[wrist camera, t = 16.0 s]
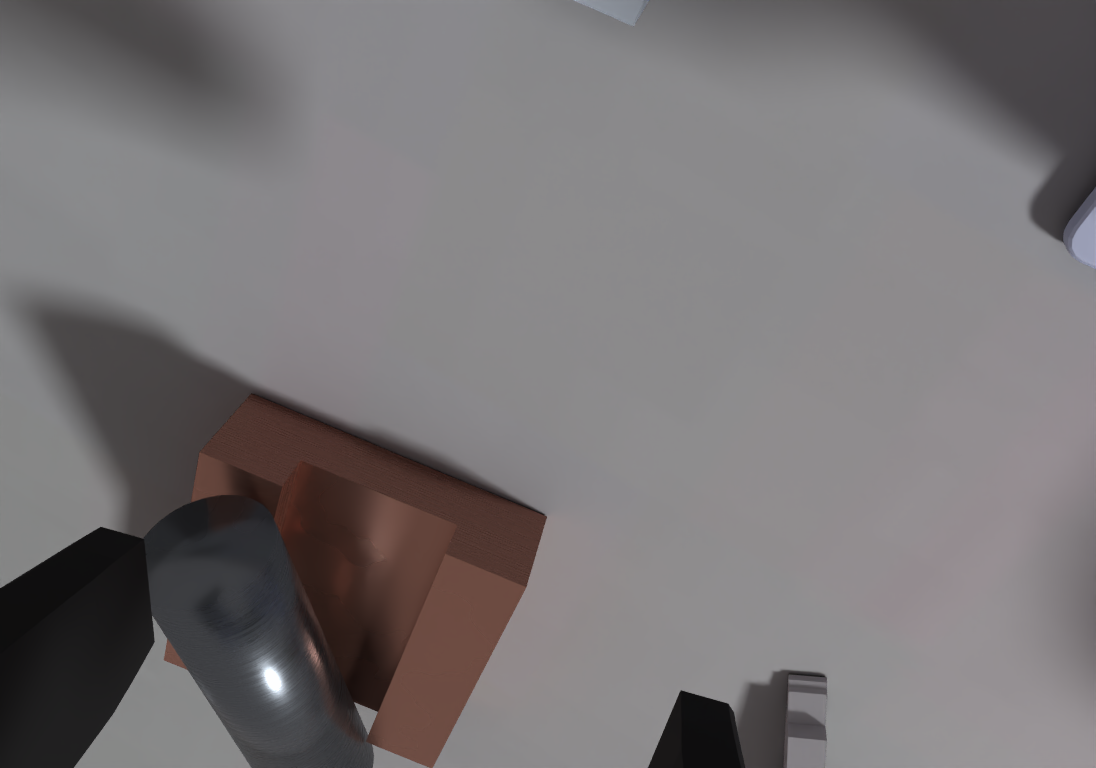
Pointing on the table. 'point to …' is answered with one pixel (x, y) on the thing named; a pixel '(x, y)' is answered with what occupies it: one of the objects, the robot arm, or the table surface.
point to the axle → (252, 635)
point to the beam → (618, 8)
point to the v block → (382, 563)
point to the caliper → (805, 722)
